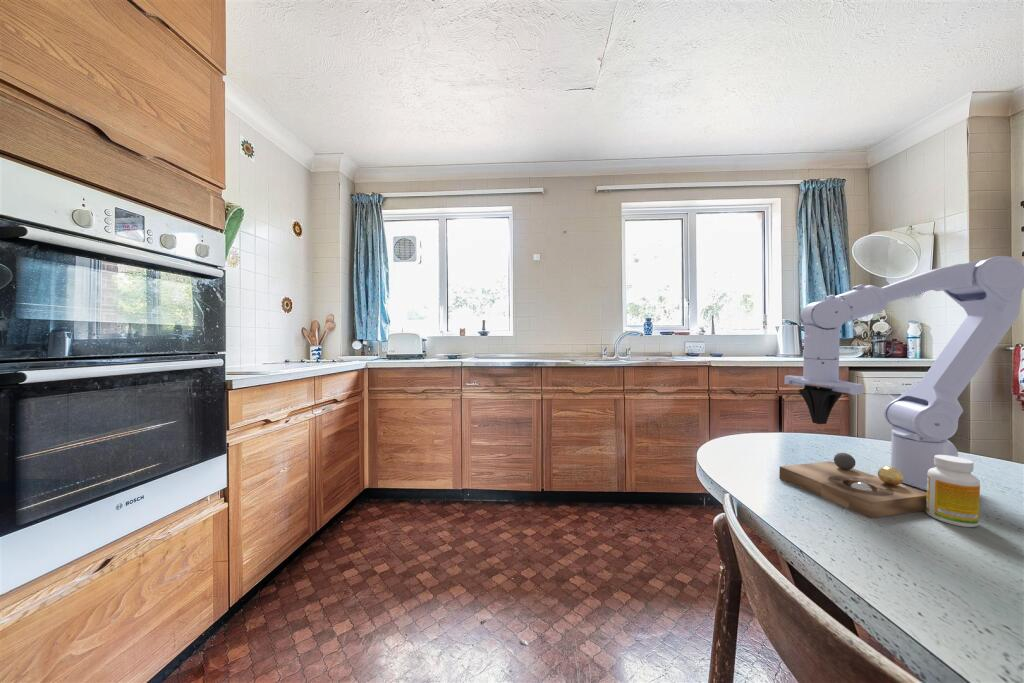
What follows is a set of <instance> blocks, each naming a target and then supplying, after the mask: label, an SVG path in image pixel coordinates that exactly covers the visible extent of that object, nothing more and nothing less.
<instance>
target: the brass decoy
mask: <svg viewBox="0 0 1024 683" xmlns="http://www.w3.org/2000/svg"><path fill="white" fill-rule="evenodd" d="M877 477H879V479H880V480H881V481H882V482H884V483H885V484H888V485H893V486H894V485H899V484H901V485H902V484H903V483H902V482H903V475H902V473H901V472H900V471H899V470H898V469H896V468H894V467H891V465H889V466H887V465H886V466H882V467H880V468H879V469H878V470H877Z"/></svg>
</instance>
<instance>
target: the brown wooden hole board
mask: <svg viewBox="0 0 1024 683" xmlns="http://www.w3.org/2000/svg"><path fill="white" fill-rule="evenodd" d="M778 475H779V477H778V478H779V479H780V480H781V481H784V482H786V483H789V484H791V485H794V486H796V487H798V488H801V489H803V490H805V491H808V492H810V493H812V494H814V495H817V496H819V497H821V498H824V499H826V500H828V501H830V502H832V503H836V504H837V505H840V506H842V507H845V508H847V509H848V510H849V509H850V510H852V511H854V512H856V513H857V514H861V515H863V516H865V517H868V518H871V519H873V518H879V517H881V518H882V517H887V516H895V515H899V514H901V515H902V514H909V513H914V512H915V513H916V512H923V511H926V497H927V492H925V491H923V490H922V491H921V490H919V489H916V488H912V487H911V486H906V485H904V484H902V483H901V484H899V485H894V486H893V485H888V484H885V483H884V482H882V481H881V480H880V479H879V477H878V475H873V474H870V473H867V472H865V471H861V470H858V469H854V468H852V469H849V470H844V469H841V468H839V467H838V466H837V465H836V464H835V463H834V461H820V462H812V463H802V464H801V463H800V464H791V465H790V464H789V465H780V466H779V474H778ZM855 482H862V483H865V484H867V485H869V486H870V487H871V488H872V489H873V491H867V490H860V489H856V488H852V487H850V485H851V484H853V483H855Z"/></svg>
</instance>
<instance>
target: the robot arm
mask: <svg viewBox="0 0 1024 683" xmlns="http://www.w3.org/2000/svg"><path fill="white" fill-rule="evenodd" d="M1023 290H1024V264H1023V263H1022V262H1021V261H1020V260H1019V259H1017V258H1015V257H1013V256H1008V255H1006V256H1005V255H998V256H992V257H989V258H988V259H982V260H975V261H971V262H966V263H957V264H952V265H950V266H946V267H945V266H944V267H940V268H939V267H938V268H934V269H930V270H926V271H924V272H921V273H919V274H916V275H913V276H911V277H907V278H903V279H902V280H899V281H896V282H893V283H891V284H888V285H885V286H882V287H879V286H876V285H873V284H868V285H864V284H858V285H856V286H855V285H854V286H853V287H852V290H849V291H846V292H843V293H840V294H837V295H836V294H829V295H827V296H826V299H825V300H821V301H820V300H819V301H814V302H811V303H808V304H807V305H806V306H805V307H803V308H802V310H801V312H800V314H799V315H798V320H799V322H800V324H801V325H802V326H803V328H804V334H803V363H802V364H803V367H802V368H803V369H802V371H803V372H802V375H790V374H789V375H784V383H783V384H784V385H789V386H790V385H791V386H792V385H793V386H800V387H803V388H800V389H799V394H800V395H801V397H802V398H803V400H804V402H805V403H806V406H807V408H808V412H809V414H810V418H811V422H812V423H813V424H817V425H826V424H827V422H828V419H829V417H830V415H831V412H832V409H833V408H834V406H835V404H836V403H837V402H838V400H839V399H840V398H841V397H842V395H843V394H844V393H845V394H849V395H854V396H857V395H864V384H863V383H862V384H861V383H855V382H851V381H845V380H839V378H840V376H839V375H840V374H839V373H840V342H841V341H840V340H841V339H840V338H841V337H840V334H841V333H840V330H841V327H842V326H843V325H844V324H845V323H848V322H851V321H854V320H858V319H862V318H863V317H867V316H871V315H873V314H877V313H880V312H883V311H885V309H886V307H887V306H888V304H889V303H890V302H894V301H897V300H902V299H904V298H907V297H912V296H916V295H918V294H922V293H925V292H929V291H935V292H942V291H943V292H944V293H945V294H946V295H947V296H948V297H950V298H951V299H952V301H954V302H956V303H957V305H959V306H960V307H962V308H963V310H964V311H965V313H966V314H967V315H966V317H965V318H964V320H963V321H962V323H961V324H960V325H959V327H958V328H957V330H956V331H955V332H954V334H953V335H952V337H951V338H950V340H949V341H948V342H947V344H946V345H945V346H944V348H943V349H942V351H941V352H940V353H939V354H938V356H937V358H936V359H935V360H934V362H933V363H932V365H931V366H930V368H929V369H928V371H927V372H926V373H925V374H924V376H923V377H922V378H921V380H920V381H919V383H918V384H917V385H915V386H912V387H910V388H908V389H906V390H904V391H903V392H902V393H901V394H900V396H899V397H897V398H896V399H894V400H892V401H891V402H889V403H888V404H886V406H885V408H884V411H883V416H884V419H885V421H886V422H887V423H888V425H890V426H891V444H890V445H891V447H890V448H891V450H890V467H894V468H896V469H898V470H899V471H900V472H901V473H902V475H903V482H902V483H901V484H905V485H909V486H910V487H911V486H912V487H914V488H918V489H921V490H922V491H923V490H924V491H927V473H928V470H929V469H931V468H935V467H936V465H935V464H934V456H935V455H949V456H955V457H959V452H958V448H956V446H955V445H954V443H953V442H951V441H950V440H949V439H950V438H952V437H953V436H954V435H955V433H956V432H958V429H959V418H960V417H961V415H962V413H963V412H964V409H963V407H962V406H961V403H960V402H959V397H960V396H961V394H962V393H963V391H964V390H965V389H966V387H968V385H969V383H970V382H971V381H972V380H973V378H974V377H975V375H976V374H977V373H978V371H979V370H980V369H981V367H982V366H983V365H984V363H985V362H986V361H987V359H988V358H989V356H990V355H991V354H992V352H993V351H994V350H995V348H996V347H997V345H998V344H999V343H1000V342H1001V340H1002V339H1003V338H1004V336H1005V334H1007V332H1008V330H1010V328H1011V327H1012V326H1013V324H1014V322H1016V321H1017V319H1018V317H1019V315H1020V312H1021V304H1022V302H1021V301H1022V293H1023Z"/></svg>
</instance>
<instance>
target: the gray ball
mask: <svg viewBox="0 0 1024 683" xmlns="http://www.w3.org/2000/svg"><path fill="white" fill-rule="evenodd" d="M833 462H834V463H835V464H836V465H837V466H838V467H839V468H841V469H844V470H849V469H852V468H853V469H854V468H855V466H856V459H855V458H854V456H852V455H851V454H849V453H847V452H838V453H837V454H835V455H834V456H833Z"/></svg>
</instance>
